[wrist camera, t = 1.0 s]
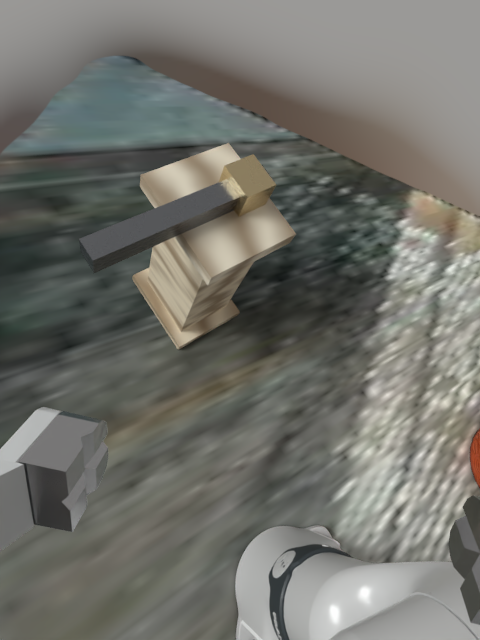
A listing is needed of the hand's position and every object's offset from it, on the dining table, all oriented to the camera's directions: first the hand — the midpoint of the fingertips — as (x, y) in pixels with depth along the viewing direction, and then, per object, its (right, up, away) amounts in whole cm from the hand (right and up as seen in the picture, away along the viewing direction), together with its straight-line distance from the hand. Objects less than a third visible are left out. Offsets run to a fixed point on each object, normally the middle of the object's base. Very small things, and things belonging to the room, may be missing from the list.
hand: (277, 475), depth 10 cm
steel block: (-7, +14, +36) cm, 39 cm away
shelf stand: (-10, +7, +61) cm, 62 cm away
